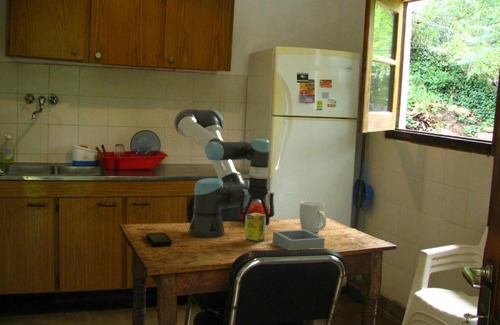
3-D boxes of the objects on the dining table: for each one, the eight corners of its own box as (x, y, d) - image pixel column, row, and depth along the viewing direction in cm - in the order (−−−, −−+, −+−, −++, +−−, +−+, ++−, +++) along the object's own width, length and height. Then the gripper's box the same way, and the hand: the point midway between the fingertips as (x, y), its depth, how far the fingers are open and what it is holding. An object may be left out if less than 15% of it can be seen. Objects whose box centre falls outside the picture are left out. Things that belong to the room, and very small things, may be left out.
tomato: (273, 221, 267) (275, 201, 266) (260, 227, 252) (261, 206, 251) (247, 217, 273) (248, 197, 271) (232, 223, 258) (233, 202, 257)
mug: (333, 235, 245) (335, 206, 243) (314, 237, 239) (316, 207, 237) (312, 227, 257) (313, 200, 256) (293, 229, 251) (295, 201, 249)
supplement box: (257, 242, 224) (259, 216, 223) (245, 240, 227) (246, 214, 226) (265, 240, 229) (266, 214, 228) (252, 237, 232) (254, 212, 231)
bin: (290, 252, 213) (291, 240, 212) (272, 242, 227) (273, 231, 226) (323, 249, 219) (324, 238, 219) (304, 240, 233) (305, 229, 232)
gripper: (232, 176, 224) (229, 231, 227) (280, 180, 219) (277, 236, 222) (237, 173, 231) (234, 227, 234) (284, 177, 227) (281, 232, 229)
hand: (255, 231), depth 228 cm, fingers closed on supplement box, 7 cm apart
